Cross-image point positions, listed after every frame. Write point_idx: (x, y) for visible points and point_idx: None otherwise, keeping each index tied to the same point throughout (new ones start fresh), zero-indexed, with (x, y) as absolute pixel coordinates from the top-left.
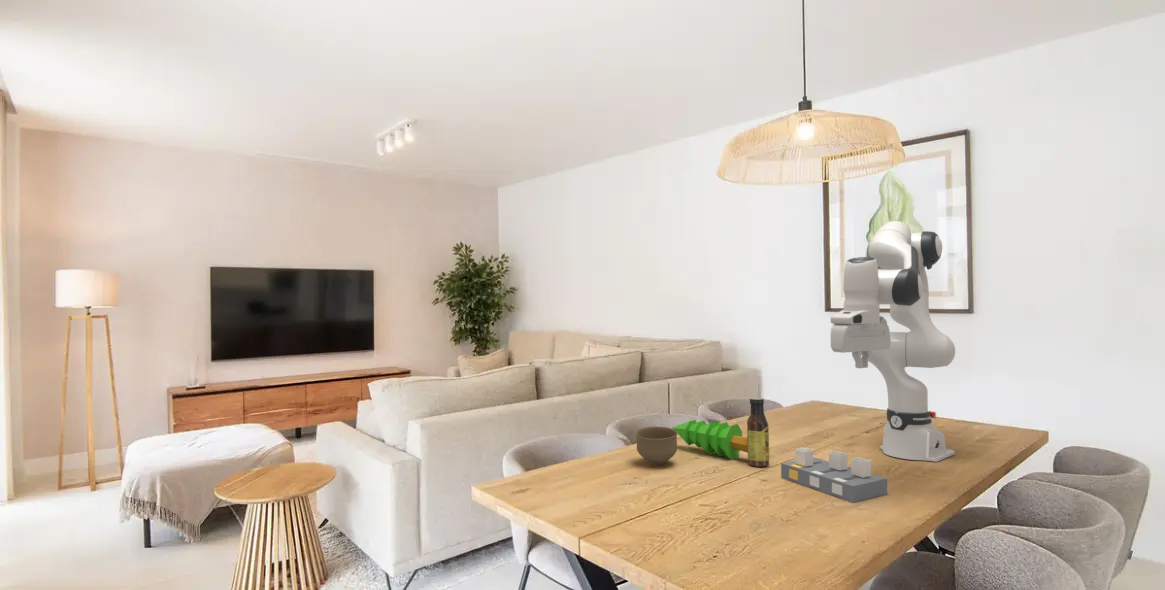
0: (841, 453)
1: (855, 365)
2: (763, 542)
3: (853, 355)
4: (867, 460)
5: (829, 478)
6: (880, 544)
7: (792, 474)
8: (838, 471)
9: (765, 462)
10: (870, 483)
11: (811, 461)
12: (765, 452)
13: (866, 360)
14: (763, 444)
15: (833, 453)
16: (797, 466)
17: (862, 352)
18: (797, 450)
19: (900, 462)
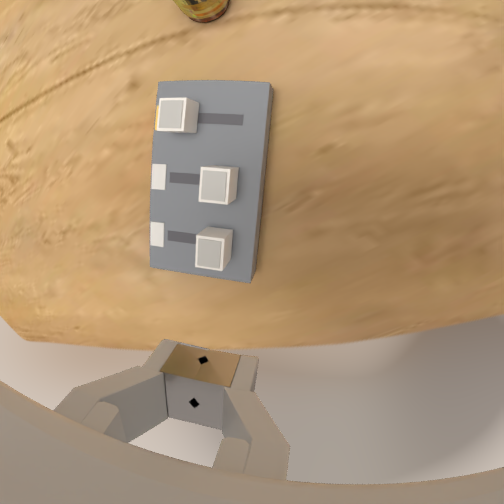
0: (212, 196)
1: (157, 346)
2: (7, 263)
3: (80, 398)
4: (213, 267)
5: (151, 212)
6: (86, 342)
7: None
8: None
9: (200, 19)
10: (198, 273)
11: (188, 132)
12: (192, 10)
13: (223, 434)
14: (181, 2)
15: (202, 179)
16: None
17: (217, 466)
18: (159, 106)
19: (491, 182)
